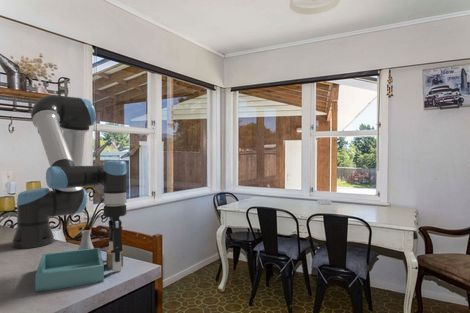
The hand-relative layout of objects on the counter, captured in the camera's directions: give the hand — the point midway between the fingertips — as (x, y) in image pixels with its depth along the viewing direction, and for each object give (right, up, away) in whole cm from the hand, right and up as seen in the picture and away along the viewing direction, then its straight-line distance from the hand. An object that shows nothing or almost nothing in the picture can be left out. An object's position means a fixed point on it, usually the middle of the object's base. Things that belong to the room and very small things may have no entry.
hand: (114, 264), depth 112 cm
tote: (-11, 0, -9) cm, 14 cm away
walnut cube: (0, 0, 0) cm, 0 cm away
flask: (-14, 0, +8) cm, 16 cm away
